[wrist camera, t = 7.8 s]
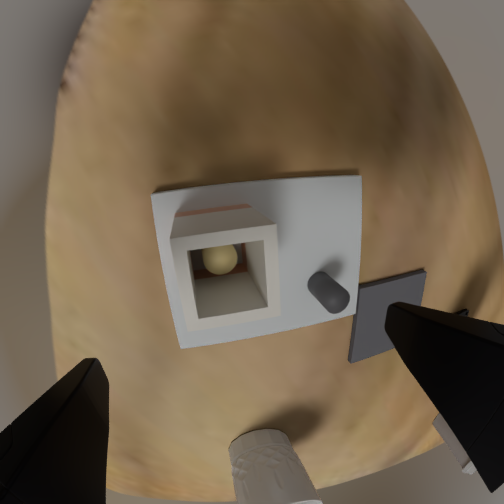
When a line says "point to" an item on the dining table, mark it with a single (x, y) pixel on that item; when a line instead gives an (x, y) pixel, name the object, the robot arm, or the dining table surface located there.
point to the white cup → (269, 470)
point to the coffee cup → (454, 444)
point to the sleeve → (234, 282)
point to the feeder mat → (381, 312)
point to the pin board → (289, 249)
